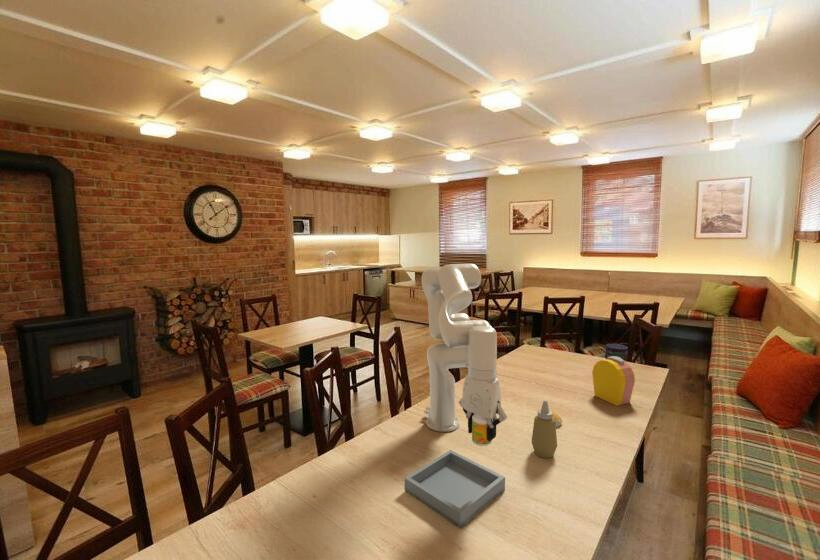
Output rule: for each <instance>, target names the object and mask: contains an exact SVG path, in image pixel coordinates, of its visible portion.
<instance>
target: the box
mask: <svg viewBox="0 0 820 560" xmlns="http://www.w3.org/2000/svg"><path fill="white" fill-rule="evenodd" d="M405 491H406V493H407V494H408V493H409V495H410V496H412V497H413V498H414V499H416V500H417V501H418V502H419V501H420V503H422V504H424V505H425V506H427V507H428V508H430V509H431V510H432V511H434V512H435V513H437V514H439V515H440V516H441V517H443V518H444V519H446V520H448V521H449V522H450V523H452V524H453V525H455V526H457V528H459V529H461V528H463V527H464V526H466V525H467V524H468V522H470V521H471V520H472V519H473V518H474V517H476V516H477V515H478V514H479V513H480V512H482V511H483V510H484V509H485V508H486V507H487V506H488V505H489V504H491V503H492V502H493V501H494V500H495V499H497V498H498V497H499V496H500V495H501V494H503V492H504V493H505V491H506V477H505V476H504V475H502V474H500V473H498V472H496V471H494V470H492V469H489V468H487V467H486V466H484V465H481V464H479V463H477V462H475V461H474V460H472V459H470V458H467V457H466V456H463V455H462V454H459V453H457V452H456V451H454V450H451V449H449V450H448V451H446V452H445V453H443V454H441V455H439V456H438V457H437V458H435V459H433V460H432V461H430V462H427V463H426V464H425V465H424V466H422V467H420V468H419V469H417V470H416V471H414V472H412V473H410V474H408V475H407V476H405V477H404V492H405Z"/></svg>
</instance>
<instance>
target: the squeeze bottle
mask: <svg viewBox="0 0 820 560" xmlns="http://www.w3.org/2000/svg"><path fill="white" fill-rule="evenodd" d="M552 411H553V410H550V408H549V403H548V400H545V399H544V400H543V401H542V405H541V408H540V409H538V410H537V414H536V415H535V417H534V418H533V426H532V433H531V434H532V435H531V445H532V447H533V451H534V453H535V455H537V456H538V457H539V458H544V459H545V458H546V459H547V458H548V459H549V458H552V457H554V456H555V453H556V450H557V448H558V440H557V439H558V437H557V427H556V423H555V419H554V418H553V412H554V411H553V412H552Z"/></svg>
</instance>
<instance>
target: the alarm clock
mask: <svg viewBox="0 0 820 560" xmlns="http://www.w3.org/2000/svg"><path fill="white" fill-rule="evenodd" d="M634 372H635V371H634V370H633V368H632V367H631V365H629V363H628V362H627V360H626V361H624V360H623V359H621V358H620V357H616V356H611V357H607V359H606V358H605V359H601V360H599V361H597V362H596V363H595V364H594V365H593V367H592V384H593V391H594V392H593V393H594V396H595V397H597V398H599V399H602V400H604V401H606V402H608V403H610V404H612V405H614V406H620V405H626V404H629V403H631V398H632V395H633V390H634V387H635V383H636V376H635V373H634Z"/></svg>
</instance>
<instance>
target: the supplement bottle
mask: <svg viewBox="0 0 820 560" xmlns="http://www.w3.org/2000/svg"><path fill="white" fill-rule="evenodd" d="M488 426H489V424H488V420H487V418H485V417H482V416H479V415H476V414H474V415H473V416H472V433H471V441H472V443H473V444H474V445H476V446H479V447H488V446H489V445H491V444H492V442H493V441H492V440H493V439H492V440H491V441H490V442H489V441H487V427H488Z"/></svg>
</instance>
